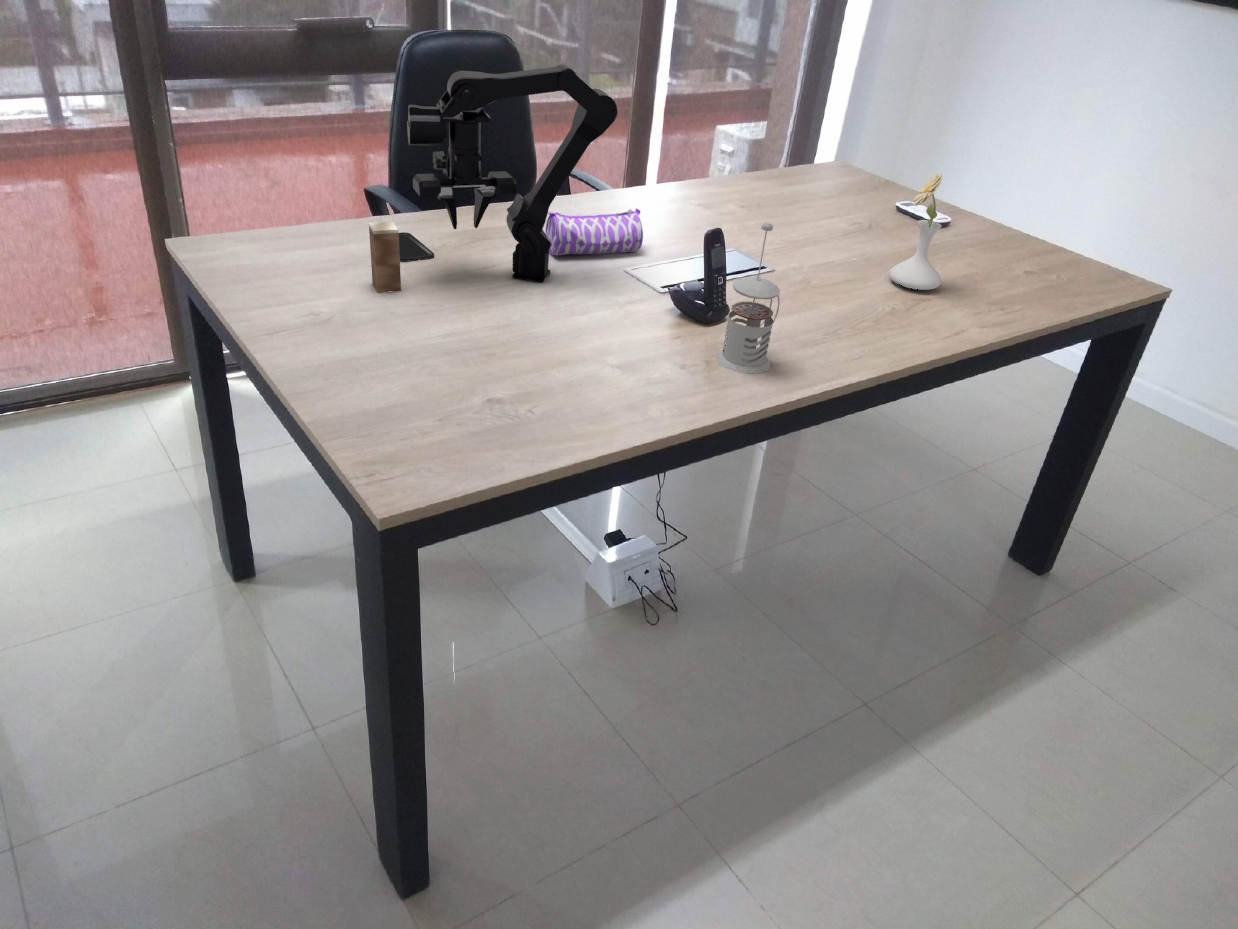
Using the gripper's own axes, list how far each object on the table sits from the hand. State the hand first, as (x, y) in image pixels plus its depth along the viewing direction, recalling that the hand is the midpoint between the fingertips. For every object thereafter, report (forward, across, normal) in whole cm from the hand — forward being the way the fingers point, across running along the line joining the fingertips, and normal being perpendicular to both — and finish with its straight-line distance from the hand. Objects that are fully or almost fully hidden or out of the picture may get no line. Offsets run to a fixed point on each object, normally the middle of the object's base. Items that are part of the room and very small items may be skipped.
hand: (465, 227), depth 177 cm
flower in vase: (+10, -94, +24) cm, 98 cm away
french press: (+10, -38, +47) cm, 61 cm away
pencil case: (+10, -32, -8) cm, 34 cm away
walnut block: (+10, +16, +2) cm, 19 cm away
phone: (+11, +8, -18) cm, 22 cm away
